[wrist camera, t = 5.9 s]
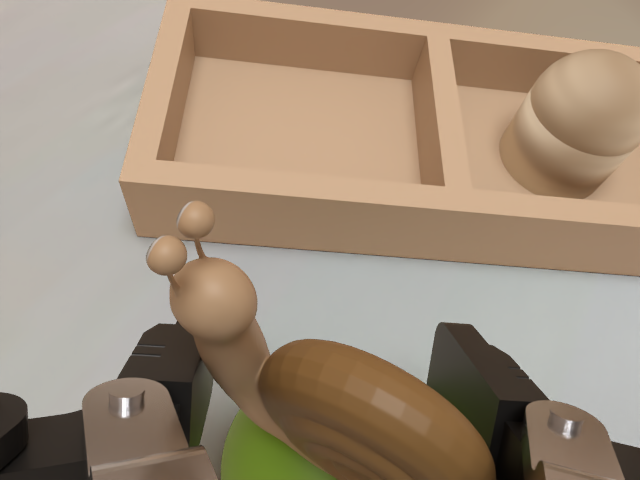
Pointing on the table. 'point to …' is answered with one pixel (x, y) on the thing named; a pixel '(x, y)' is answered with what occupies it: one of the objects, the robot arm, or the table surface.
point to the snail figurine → (308, 388)
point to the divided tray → (360, 139)
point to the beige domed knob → (575, 124)
